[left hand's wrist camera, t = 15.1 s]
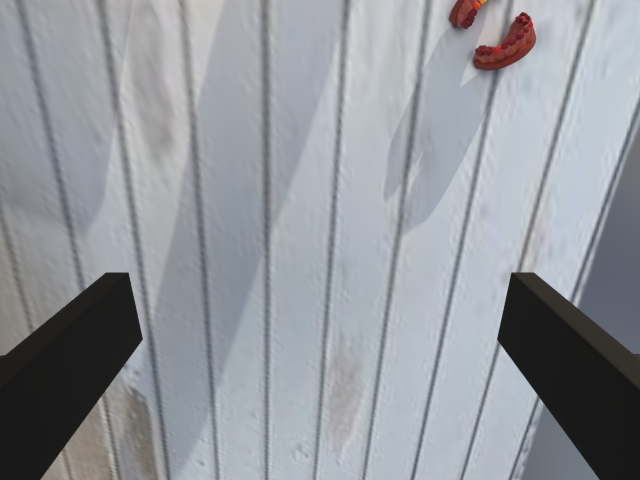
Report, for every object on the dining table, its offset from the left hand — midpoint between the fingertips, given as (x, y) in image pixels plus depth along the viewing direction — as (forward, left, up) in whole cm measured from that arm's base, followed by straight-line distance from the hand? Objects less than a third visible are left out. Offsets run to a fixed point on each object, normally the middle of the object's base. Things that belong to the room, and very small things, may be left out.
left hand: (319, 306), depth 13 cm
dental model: (+12, +17, -30) cm, 37 cm away
